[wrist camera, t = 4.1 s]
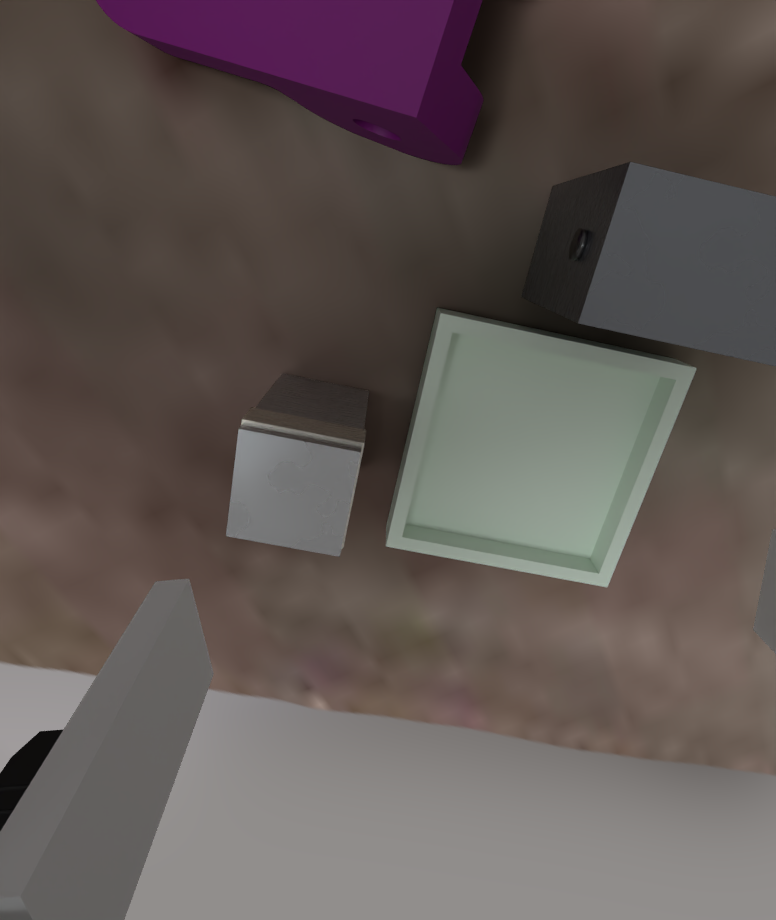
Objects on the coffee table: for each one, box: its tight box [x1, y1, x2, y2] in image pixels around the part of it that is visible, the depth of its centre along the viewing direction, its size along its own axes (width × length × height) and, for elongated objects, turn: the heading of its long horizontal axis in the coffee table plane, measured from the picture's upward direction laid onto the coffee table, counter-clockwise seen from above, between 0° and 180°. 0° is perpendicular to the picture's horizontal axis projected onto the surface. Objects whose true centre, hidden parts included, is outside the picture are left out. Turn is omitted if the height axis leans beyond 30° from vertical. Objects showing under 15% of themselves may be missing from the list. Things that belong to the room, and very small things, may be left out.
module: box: [226, 373, 369, 557], centre depth 29 cm, size 5×5×10 cm
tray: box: [386, 307, 697, 587], centre depth 33 cm, size 14×14×2 cm
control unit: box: [521, 162, 776, 366], centre depth 25 cm, size 10×6×10 cm, turn 78°
